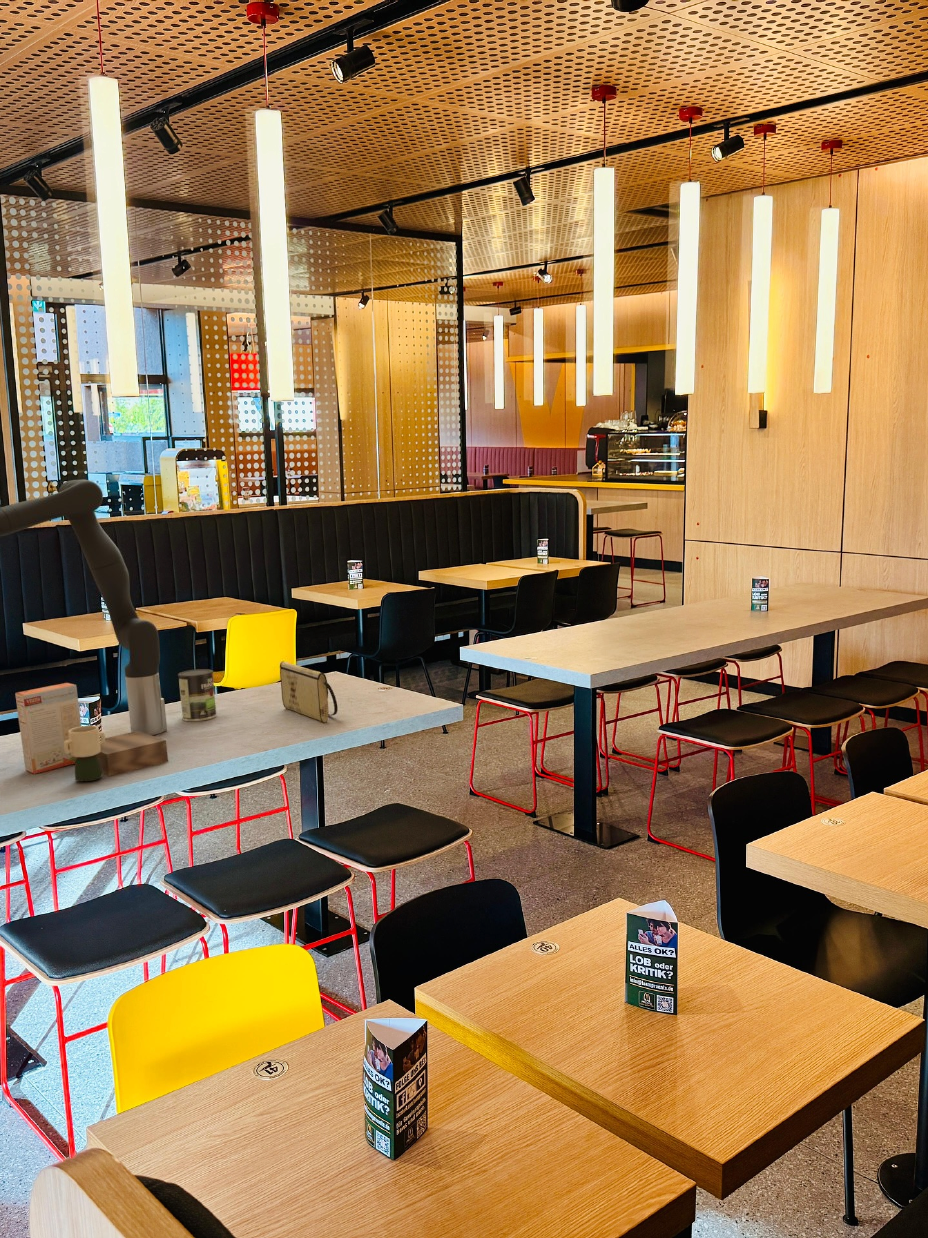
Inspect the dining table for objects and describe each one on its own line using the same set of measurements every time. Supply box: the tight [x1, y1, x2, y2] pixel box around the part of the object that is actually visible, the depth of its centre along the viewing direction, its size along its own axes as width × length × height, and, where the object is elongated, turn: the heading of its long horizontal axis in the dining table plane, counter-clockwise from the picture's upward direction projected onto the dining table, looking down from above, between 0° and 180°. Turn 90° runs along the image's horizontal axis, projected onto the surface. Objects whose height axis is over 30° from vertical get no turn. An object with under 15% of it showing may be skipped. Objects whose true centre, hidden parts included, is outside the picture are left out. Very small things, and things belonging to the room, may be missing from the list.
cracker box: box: [14, 682, 82, 775], centre depth 268 cm, size 14×6×21 cm, turn 134°
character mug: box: [64, 725, 106, 782], centre depth 255 cm, size 11×7×13 cm, turn 141°
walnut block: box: [96, 731, 169, 777], centre depth 269 cm, size 16×16×6 cm
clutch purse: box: [279, 660, 339, 724], centre depth 312 cm, size 30×7×15 cm, turn 35°
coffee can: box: [177, 668, 218, 722], centre depth 315 cm, size 10×10×14 cm
